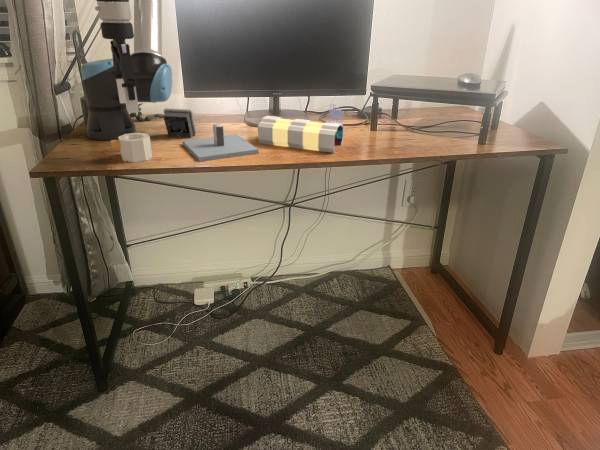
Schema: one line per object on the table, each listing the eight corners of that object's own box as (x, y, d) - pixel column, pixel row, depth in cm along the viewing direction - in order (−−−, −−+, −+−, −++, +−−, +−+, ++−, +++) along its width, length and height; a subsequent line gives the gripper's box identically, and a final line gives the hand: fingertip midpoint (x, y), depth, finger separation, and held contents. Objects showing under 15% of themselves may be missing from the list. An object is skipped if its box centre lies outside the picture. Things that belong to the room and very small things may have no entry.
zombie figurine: (171, 102, 163) (128, 105, 158) (173, 120, 167) (131, 124, 161) (168, 99, 168) (126, 102, 162) (170, 117, 171) (130, 121, 165)
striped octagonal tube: (342, 145, 142) (345, 104, 136) (333, 154, 134) (336, 111, 128) (271, 136, 150) (270, 97, 144) (258, 145, 141) (257, 103, 135)
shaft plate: (182, 144, 139) (180, 121, 136) (236, 137, 147) (235, 115, 143) (199, 161, 125) (197, 136, 122) (258, 153, 133) (257, 129, 129)
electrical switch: (197, 135, 149) (193, 107, 144) (192, 140, 145) (188, 112, 140) (170, 133, 150) (165, 106, 145) (164, 139, 145) (159, 111, 140)
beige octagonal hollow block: (112, 156, 128) (108, 135, 125) (148, 151, 132) (145, 131, 129) (116, 164, 121) (112, 143, 119) (154, 159, 126) (151, 138, 123)
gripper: (94, 19, 119) (108, 100, 129) (106, 23, 99) (121, 118, 109) (123, 19, 122) (135, 98, 132) (141, 23, 103) (152, 115, 112)
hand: (129, 107), depth 120 cm, fingers open, 13 cm apart
